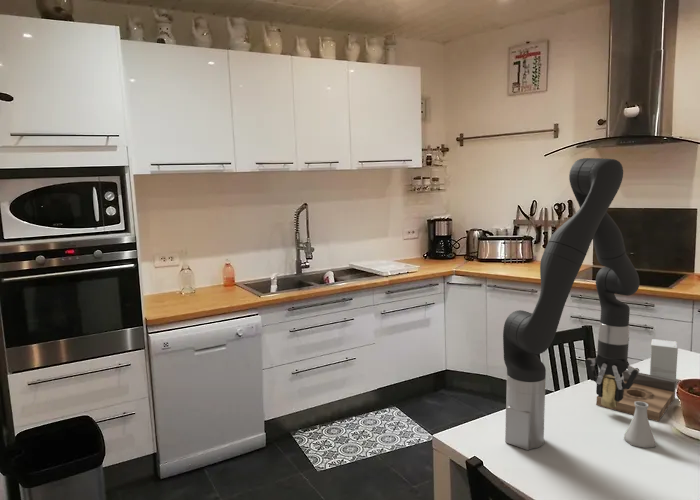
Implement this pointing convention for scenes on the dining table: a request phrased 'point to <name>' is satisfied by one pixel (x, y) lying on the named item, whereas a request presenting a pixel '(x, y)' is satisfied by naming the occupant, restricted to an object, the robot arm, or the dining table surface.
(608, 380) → the gold upright block
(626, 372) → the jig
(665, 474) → the dining table surface
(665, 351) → the supplement box
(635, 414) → the flask
